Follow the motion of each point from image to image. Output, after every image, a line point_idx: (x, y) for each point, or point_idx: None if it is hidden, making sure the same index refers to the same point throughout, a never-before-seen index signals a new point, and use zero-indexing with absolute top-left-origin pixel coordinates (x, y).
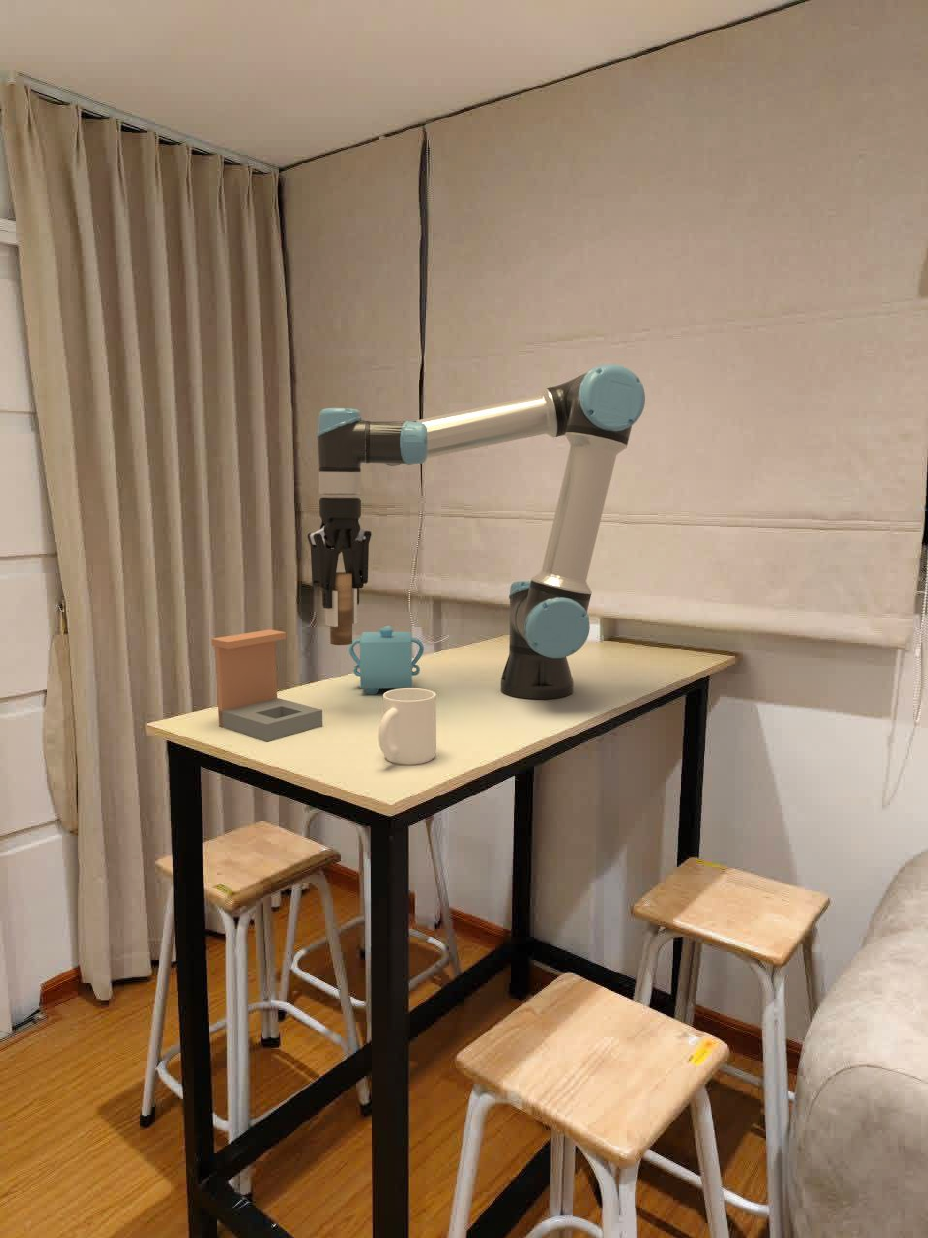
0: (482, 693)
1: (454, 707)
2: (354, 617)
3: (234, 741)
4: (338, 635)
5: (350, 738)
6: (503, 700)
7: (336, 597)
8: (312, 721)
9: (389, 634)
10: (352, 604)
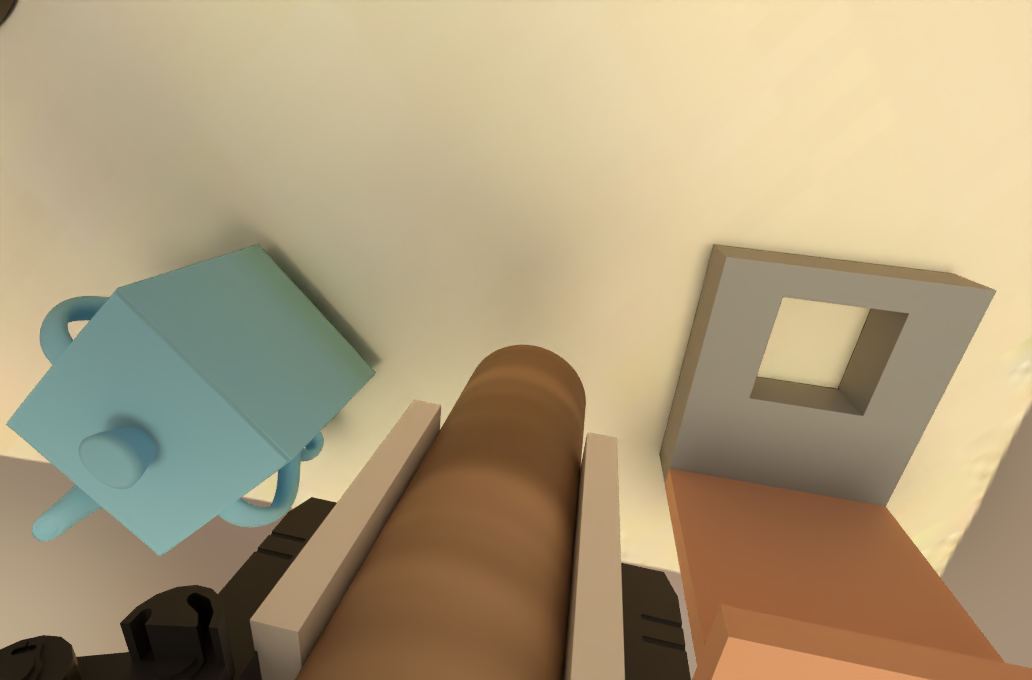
0: (84, 46)
1: (270, 4)
2: (421, 428)
3: (983, 360)
4: (575, 406)
5: (798, 54)
6: None
7: (590, 627)
8: (763, 255)
9: (125, 430)
10: (383, 511)
